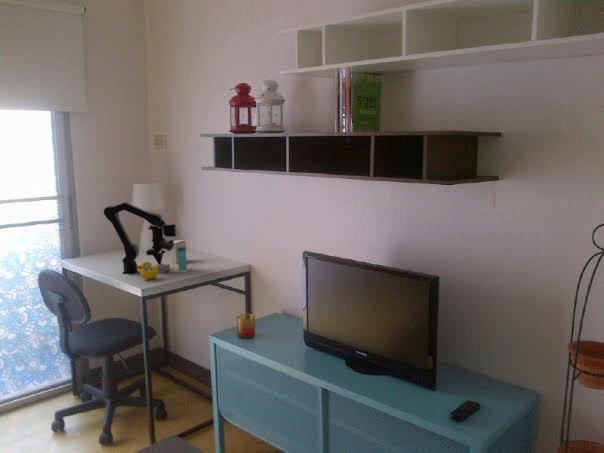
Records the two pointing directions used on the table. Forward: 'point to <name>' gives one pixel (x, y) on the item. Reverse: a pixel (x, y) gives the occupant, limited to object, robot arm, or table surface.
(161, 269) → the button housing
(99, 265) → the table surface
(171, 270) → the sketchbook
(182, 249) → the teal cylinder
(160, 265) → the button
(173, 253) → the supplement box
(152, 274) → the duckling
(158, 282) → the table surface
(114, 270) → the table surface
